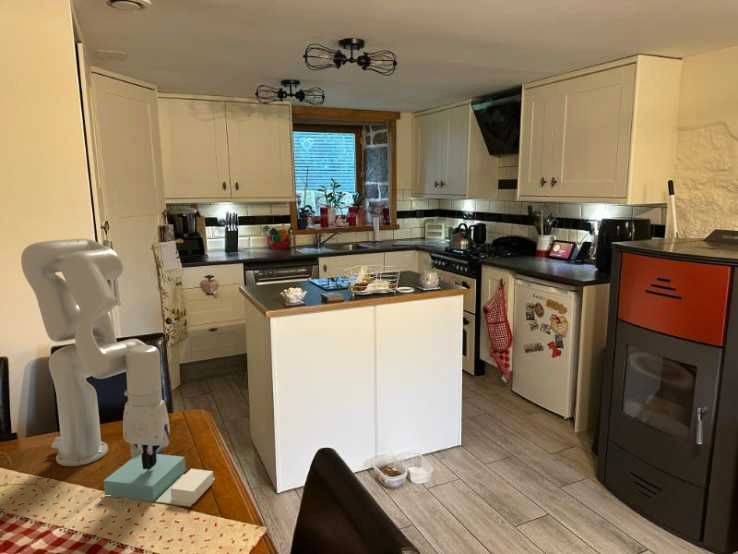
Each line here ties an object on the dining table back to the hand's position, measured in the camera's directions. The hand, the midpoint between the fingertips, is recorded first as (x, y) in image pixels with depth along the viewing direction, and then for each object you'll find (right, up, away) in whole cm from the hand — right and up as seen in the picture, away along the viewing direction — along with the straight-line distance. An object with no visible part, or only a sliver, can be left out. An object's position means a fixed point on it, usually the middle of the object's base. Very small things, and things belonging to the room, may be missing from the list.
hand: (149, 466), depth 127 cm
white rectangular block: (+11, -2, -2) cm, 12 cm away
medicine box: (-7, -3, +15) cm, 17 cm away
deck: (-2, -5, +2) cm, 5 cm away
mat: (+10, -5, -1) cm, 11 cm away
